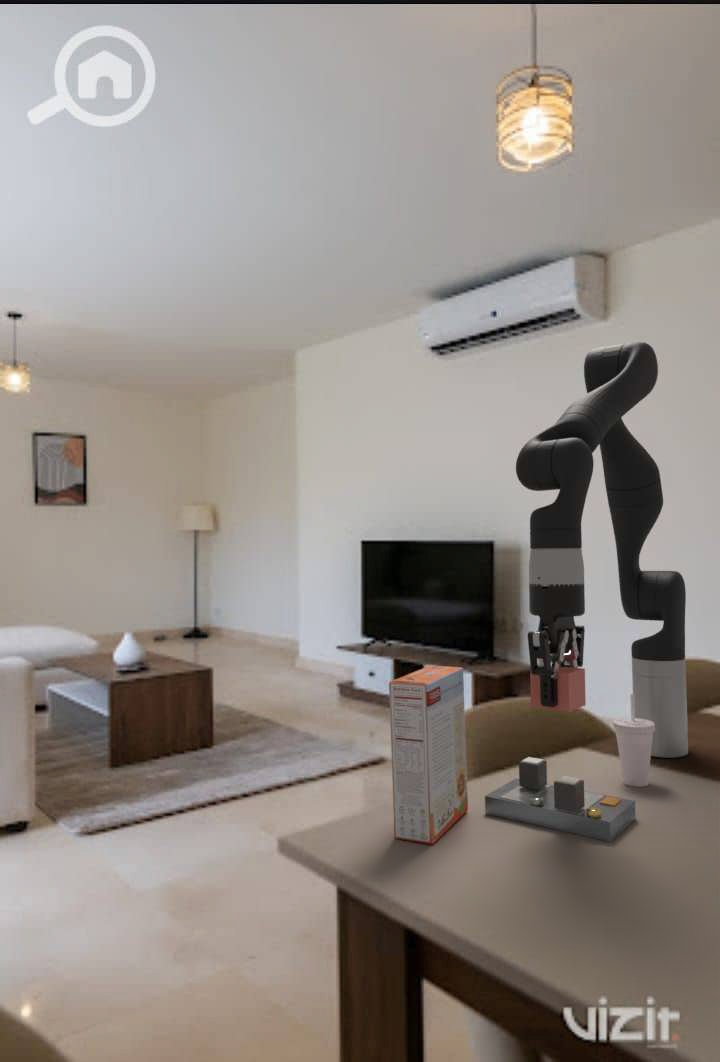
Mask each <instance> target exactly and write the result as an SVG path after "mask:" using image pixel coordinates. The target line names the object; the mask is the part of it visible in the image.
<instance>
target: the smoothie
mask: <svg viewBox="0 0 720 1062" xmlns="http://www.w3.org/2000/svg"><path fill="white" fill-rule="evenodd" d="M629 695H630V717H625V718H624V717H623V718H621V717H620V718H616V719H614V720H613V721H612V722H613V724H612V728H613V729H614V730H615V735H616V736H615V737H616V742H617V748H618V755H619V763H620V768H621V769H620V770H621V775H622V783H623V784H624V785H627V786H631V787H638V788H639V787H646V786H648V785H649V779H650V778H649V775H650V767H651V766H650V765H651V758H652V756H651V749H652V739H653V731H655V723H654V722H652V721H649V720H645V719H638V718H635V711H634V694H633V693H630V694H629Z"/></svg>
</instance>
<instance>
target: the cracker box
mask: <svg viewBox="0 0 720 1062" xmlns="http://www.w3.org/2000/svg"><path fill="white" fill-rule="evenodd" d="M464 685H465V684H464V668H463V667H462V666H461V667H459V666H445V665H429V666H426V667H424V668H421V669H418V670H415V671H413V672H410V673H408V674H406V675H404V676H401V677H398V678H396V679H393V680H390V681H389V683H388V689H389V714H390V715H389V717H390V721H389V722H390V747H391V752H390V753H391V775H392V777H391V778H392V779H391V780H392V803H393V804H392V807H393V809H392V810H393V837H394V839H396V840H397V839H398V840H403V841H410V842H415V843H421V844H426V845H433V844H435V843H436V842H437V841H438V840H439V839H440V838H441V837H442V836H443V835H444V834H445V833H446V832H447V831H448V830H449V829H450V828H451V827H453V825H454V824H455V823H456V822H457V821H458V820H460V819H461V817H463V816H464V815H465V814H466V813H467V812H468V809H469V805H468V802H469V801H468V800H469V799H468V796H469V795H468V776H467V775H468V773H467V772H468V770H467V746H466V714H465V713H466V712H465V686H464Z"/></svg>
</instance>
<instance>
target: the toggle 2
mask: <svg viewBox="0 0 720 1062" xmlns="http://www.w3.org/2000/svg"><path fill="white" fill-rule="evenodd" d="M553 785H554V807H555V809H560V810H565V811H570V812H574V813H577V812H578V811H579V810H581V809H582V808H583V807H584V806H585V803H584V791H585V781H584V779H581V778H577V777H572V776H565V775H563V776H561V777H559V778H558V779H557V780H555V781H553Z"/></svg>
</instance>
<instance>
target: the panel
mask: <svg viewBox="0 0 720 1062" xmlns="http://www.w3.org/2000/svg"><path fill="white" fill-rule="evenodd" d="M584 803H585V806H584V807H583V808H582V809H581V810H579V811H578V812H577V813H574V812H570V811H565V810H560V809H555V807H554V784H548V783H547V785H545V786H544V787H542V788H541V789H539V790H537V789H532V788H527V787H522V786H519V778H514V779H513V780H510V781H509V782H507V783H506V784H504V785H502V786H501V787H498V788H497V789H495V790H493V791H491V792H490V793H488V794H486V795H484V812H485V815H490V816H495V817H499V818H503V819H507V820H512V821H516V822H521V823H525V824H529V825H535V826H539V827H543V828H546V829H552V830H556V831H561V832H566V833H571V834H575V835H577V836H578V835H579V836H582V837H588V838H592V839H596V840H600V841H606V842H609V843H611V842H612V841H613V840H614V839H616V838H617V837H618V836H619V835H620V834H621V833H622V832H623V831H624V830H626V829H627V827H628V826H630V825H631V824H632V823H633V822H634V821H635V820H636V816H637V815H636V800H634V799H627V798H622V797H617V796H611V795H607V794H600V793H596V792H591V791H585V790H584Z"/></svg>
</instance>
